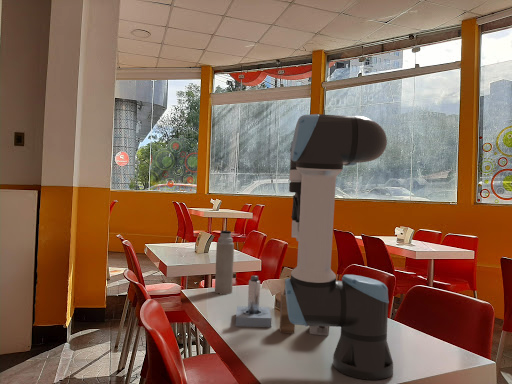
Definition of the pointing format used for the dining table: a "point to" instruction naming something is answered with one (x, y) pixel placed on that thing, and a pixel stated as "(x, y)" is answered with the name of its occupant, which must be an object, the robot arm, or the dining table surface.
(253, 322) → the socket block
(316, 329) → the coffee box
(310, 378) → the dining table surface
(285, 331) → the square bit
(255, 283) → the silver slim bottle
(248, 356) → the dining table surface
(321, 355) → the dining table surface
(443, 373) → the dining table surface
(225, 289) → the thermos bottle
